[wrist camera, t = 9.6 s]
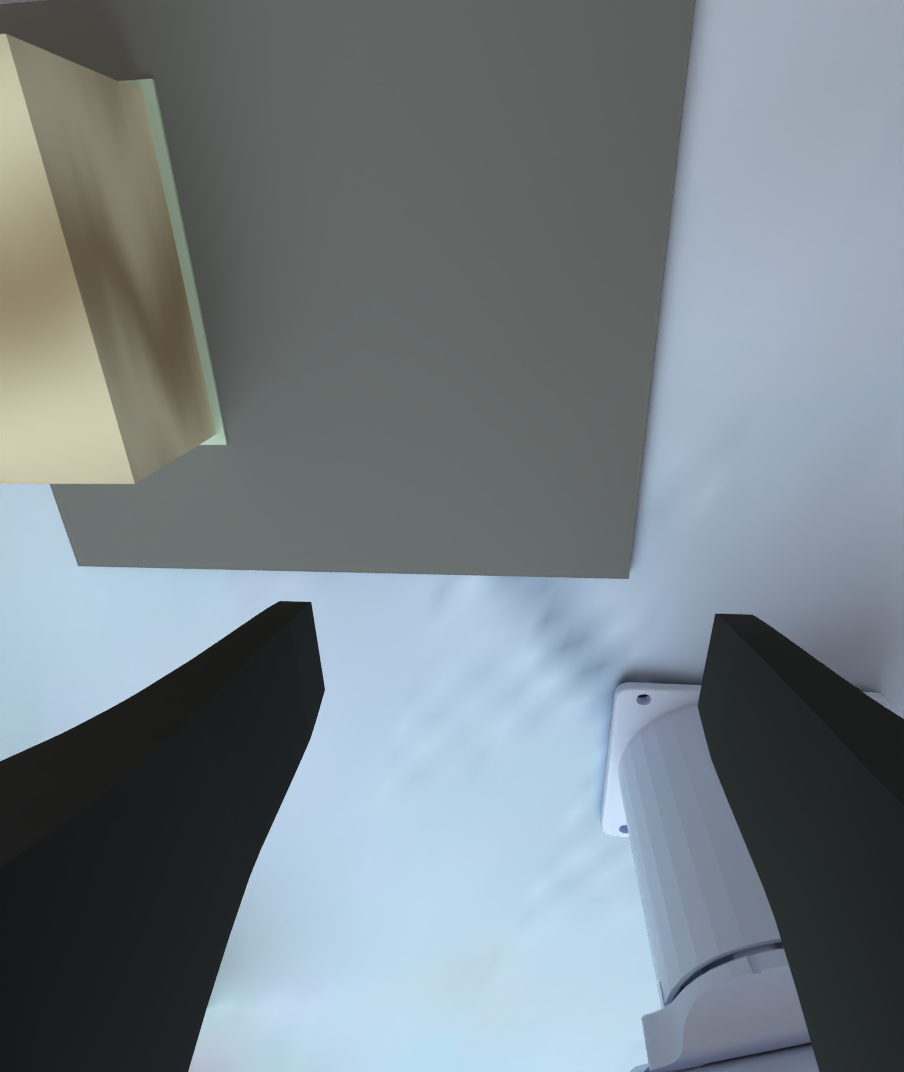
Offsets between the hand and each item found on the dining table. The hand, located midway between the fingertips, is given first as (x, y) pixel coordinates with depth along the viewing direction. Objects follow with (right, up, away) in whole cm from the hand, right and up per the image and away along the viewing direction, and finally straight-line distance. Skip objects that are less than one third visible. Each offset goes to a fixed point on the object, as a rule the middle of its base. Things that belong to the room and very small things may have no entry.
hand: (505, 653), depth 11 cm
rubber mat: (-5, +8, +7) cm, 12 cm away
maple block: (-11, +10, +7) cm, 16 cm away
